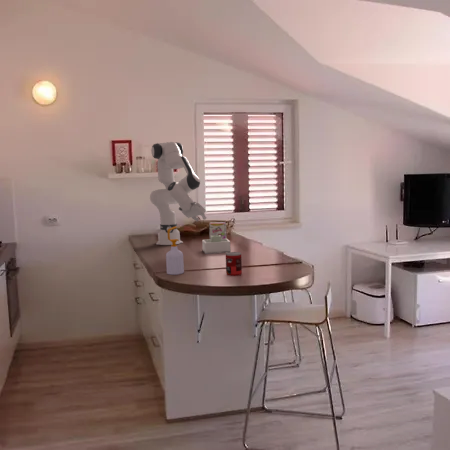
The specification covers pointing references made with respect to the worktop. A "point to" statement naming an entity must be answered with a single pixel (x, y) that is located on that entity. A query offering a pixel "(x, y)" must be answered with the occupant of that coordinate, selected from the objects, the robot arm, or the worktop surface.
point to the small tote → (215, 238)
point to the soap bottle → (174, 257)
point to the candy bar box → (217, 229)
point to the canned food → (233, 264)
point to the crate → (216, 246)
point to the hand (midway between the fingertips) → (201, 219)
